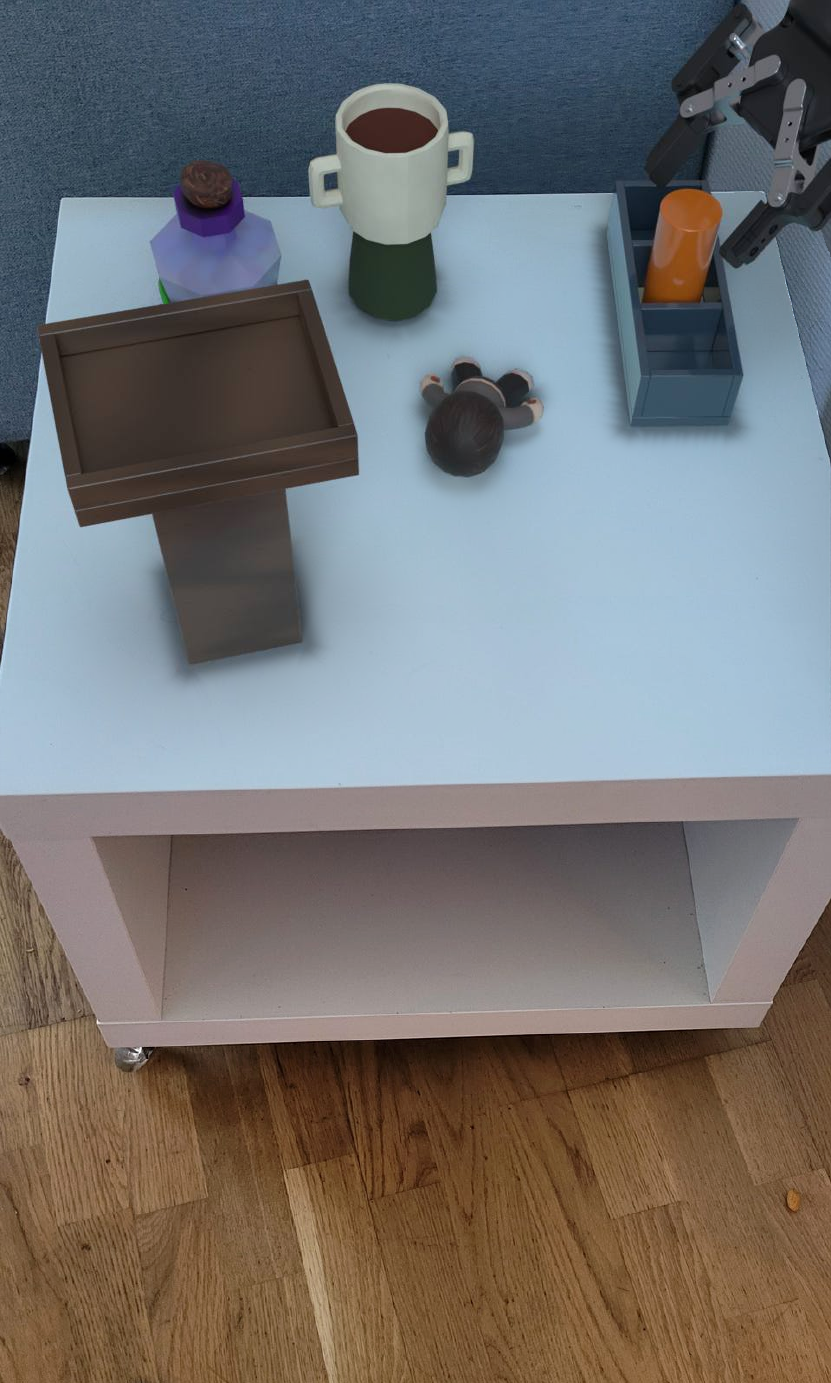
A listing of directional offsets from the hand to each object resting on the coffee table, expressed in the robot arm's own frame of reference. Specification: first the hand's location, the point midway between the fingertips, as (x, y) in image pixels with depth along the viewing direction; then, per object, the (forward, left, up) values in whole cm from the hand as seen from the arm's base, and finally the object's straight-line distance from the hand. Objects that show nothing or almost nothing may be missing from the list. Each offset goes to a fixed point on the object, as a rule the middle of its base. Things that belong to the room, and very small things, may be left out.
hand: (688, 220), depth 84 cm
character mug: (+18, -7, -8) cm, 21 cm away
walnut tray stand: (+34, +17, -8) cm, 39 cm away
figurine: (+16, +7, -8) cm, 19 cm away
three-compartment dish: (0, 0, -8) cm, 8 cm away
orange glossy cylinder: (0, 0, -7) cm, 7 cm away
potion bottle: (+30, -6, -8) cm, 32 cm away
